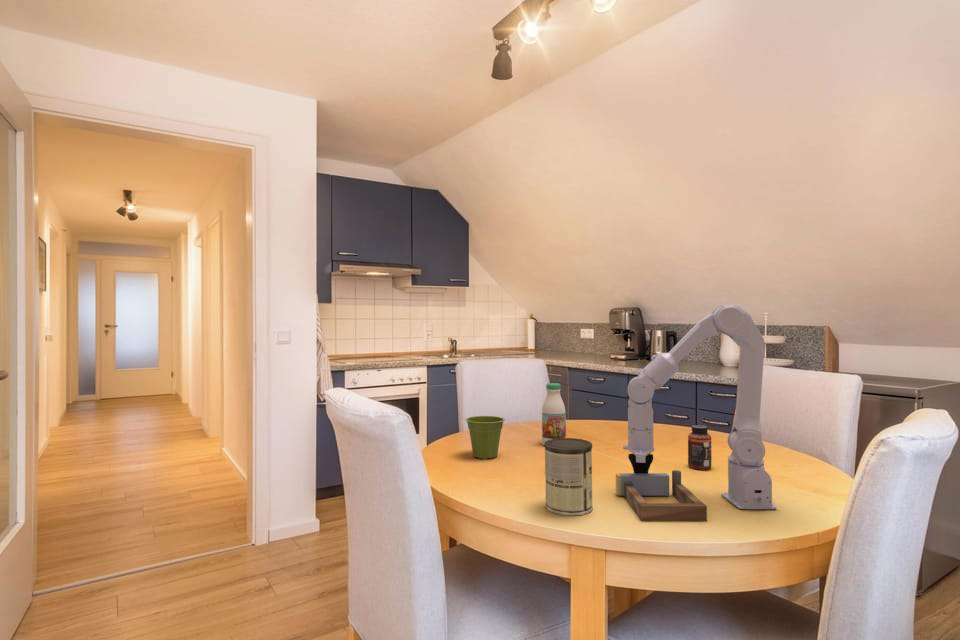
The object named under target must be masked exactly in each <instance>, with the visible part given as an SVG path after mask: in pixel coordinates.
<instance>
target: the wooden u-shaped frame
mask: <svg viewBox="0 0 960 640" xmlns="http://www.w3.org/2000/svg"><path fill="white" fill-rule="evenodd" d="M671 496H672V497H675V499H676V500H677V501H679V502H678V503H673V502H672V503H671V502H670V503H661V502H659V503H658V502H653V503H650V502H647V501H646V499H644V497H643V496H641V495H640V494H639V493H638V491H637V490H636V489H635V488H634V487H633V483H632V482H624V498H625V500H626V501H627V502H628V505H630V507H631V508H632V509H633V511H634V512H635V514H636V515H637V517H638V518H639V519H640V520H641V521H642V522H650V521H651V522H708V510H707V509H708V506H707V504H705V503H704V502H703V501H702V500H701V499H699V498H698V497H697V496H696V495H695V494H694V493H693V492H691V491H690V490H689V489H688V488H687V487H686V486H685V485H684V484H682V471H680V470H677V469H676V470H675V469H674V470H672V471H671Z"/></svg>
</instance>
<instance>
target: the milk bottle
mask: <svg viewBox="0 0 960 640" xmlns="http://www.w3.org/2000/svg"><path fill="white" fill-rule="evenodd" d="M545 386H546V396H545V398H544V401H543V404H542V407H541V444H542V446H544V443H545V442H546V441H548V440H551V439H557V438H567V427H566V425H567V419H566V418H567V417H566V415H567V413H566V406H565V404H564V401H563V399H562V396H561V387H562V386H561V383H558V382H549V383H546V385H545Z"/></svg>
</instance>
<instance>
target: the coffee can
mask: <svg viewBox="0 0 960 640" xmlns="http://www.w3.org/2000/svg"><path fill="white" fill-rule="evenodd" d="M544 445H545V446H544ZM544 445H543V446H544V462H545V463H544V464H545V465H544V466H545V467H544V469H545V471H544V473H545V508H546V510H547V511H548V512H550V513H553V514H556V515H561V516H567V517H568V516H569V517H572V516H573V517H575V516H576V517H577V516H584V515H587V514H589V513H591V512H592V511H593V508H594V507H593V462H592V461H593V458H592V457H593V456H592V455H593V453H592V449H593V442H591V441H589V440H585V439H581V438H573V437H566V438H557V439H551V440H548V441H546V442H545V443H544Z"/></svg>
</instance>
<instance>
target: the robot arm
mask: <svg viewBox="0 0 960 640" xmlns="http://www.w3.org/2000/svg"><path fill="white" fill-rule="evenodd" d="M719 332H720V333H721V334H724V335H725V336H727V337H729V338H730V339H731V340H732V342H734V344H736V345H737V346H738V347H739V357H738V371H737V372H738V374H737V386H736V388H737V389H736V401H735V416H734V419H733V424H732V429H731V431H730V433H728V435H727V444H728V447H729V448H730V450H731V453H730V454H729V456H728V457H727V481H728V482H727V484H728V485H727V486H728V487H727V490H728V492H721V493H720V495H721V496H722V497H723V498H725V499H726V500H727V501H728V502H730V503H731V504H732V505H733V506H735V508H737V509H739V510H777V506H775V505H774V504H773V483H772V478H771V476H770V474H769V473H768V472H767V470H766V469H765V460H764V458H765V454H766V446H765V445H764V443H763V439H762V427H761V421H760V420H761V419H760V418H761V404H762V403H761V402H762V390H763V389H762V387H763V374H764V373H763V371H764V359H765V356H764V355H765V346H766V345H765V344H766V343H765V338H764V336H763V335H762V333H761V332H760V330H759V329H758V327H757V325H756V324H755V322H754V320H753V318H752V316H751V315H750V314H749V313H748V312H747V311H745V310H744V309H743V308H741V307H740V306H738V305H736V304H725V305H720V306H718V307H717V306H716V308H715V309H714V310H713V311H712V312H711V313H709V314H707V315H705V316H704V317H703V318H702V319H700V320H699V321H698V322H697V323H696V324H695V325H694V326H693V327H691V329H689V331H688V332H687V333H686V334H685V335H684V336H683V337H682V338H681V339H680V340H679V341H678V342H676V344H675V345H674V346H673V347H672V348H671V349H670V351H668V352H659V353H658V354H657V355H655V354H653V355H652V356H651V357H650V362H649V363H648V364H647V365H646V366H644V368H643V369H641V370H638V371H637V372H636V375H637V376H635V377H633V378H632V379H631V380H630V381H629V382H628V385H627V389H626V392H627V396H628V397H629V398H628V401H627V404H628V407H627V444H623V445H622V449H623V450H627V451H629V452H630V453H628V458H627V459H628V460H629V462H630V464H631V468H632V470H633V473H649V471H650V466H651V464H652V463H653V461H654V454H653V452H655V446H654V409H653V407H652V405H653V403H652V401H653V400H652V399H653V398H654V394H655V390H660V389H661V388H662V387H663V386H664V385H665V384H666V383H667V382H668V381H669V380H670V379H671V378H672V377H674V375H676V374H677V373H678V372H679V369H680V368H679V363H680V362H681V360H683V359H684V358H685V357H686V356H687V355H688V354H689V353H690V352H691V351H693V350H694V349H695V348H696V347H697V346H698V345H699V344H701V343H702V342H703V341H704V340H705V339H708V338H711V337H712V338H713V337H716V336H719V335H720V333H719Z"/></svg>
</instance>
